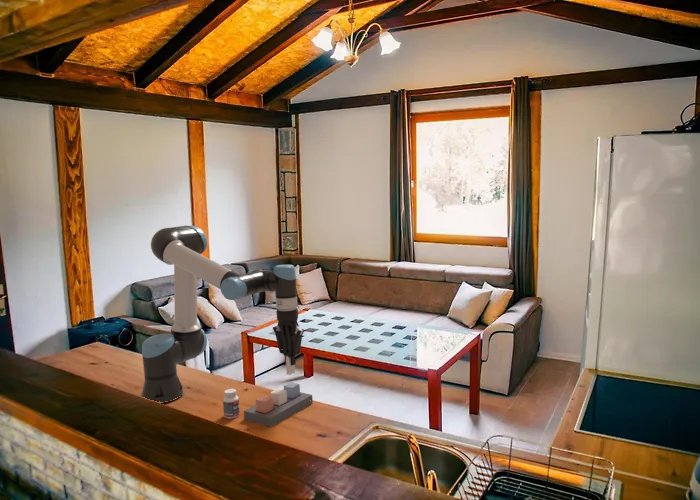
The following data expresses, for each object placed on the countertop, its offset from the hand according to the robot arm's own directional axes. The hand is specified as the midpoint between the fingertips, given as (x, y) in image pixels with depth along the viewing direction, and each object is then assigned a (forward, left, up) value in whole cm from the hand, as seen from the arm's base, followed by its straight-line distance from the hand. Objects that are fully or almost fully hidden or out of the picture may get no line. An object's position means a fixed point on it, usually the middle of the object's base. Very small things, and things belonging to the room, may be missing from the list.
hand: (290, 373), depth 187 cm
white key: (0, -7, -8) cm, 11 cm away
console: (0, -7, -11) cm, 13 cm away
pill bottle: (-12, -18, -12) cm, 25 cm away
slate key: (0, 0, -8) cm, 8 cm away
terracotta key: (0, -14, -8) cm, 16 cm away
